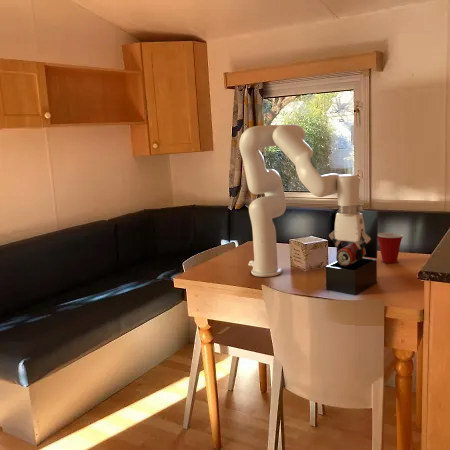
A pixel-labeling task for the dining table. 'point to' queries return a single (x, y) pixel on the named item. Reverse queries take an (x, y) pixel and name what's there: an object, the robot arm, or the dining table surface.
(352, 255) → the beverage can
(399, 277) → the dining table surface
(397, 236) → the plastic cup
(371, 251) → the bin lid
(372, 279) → the trash bin
